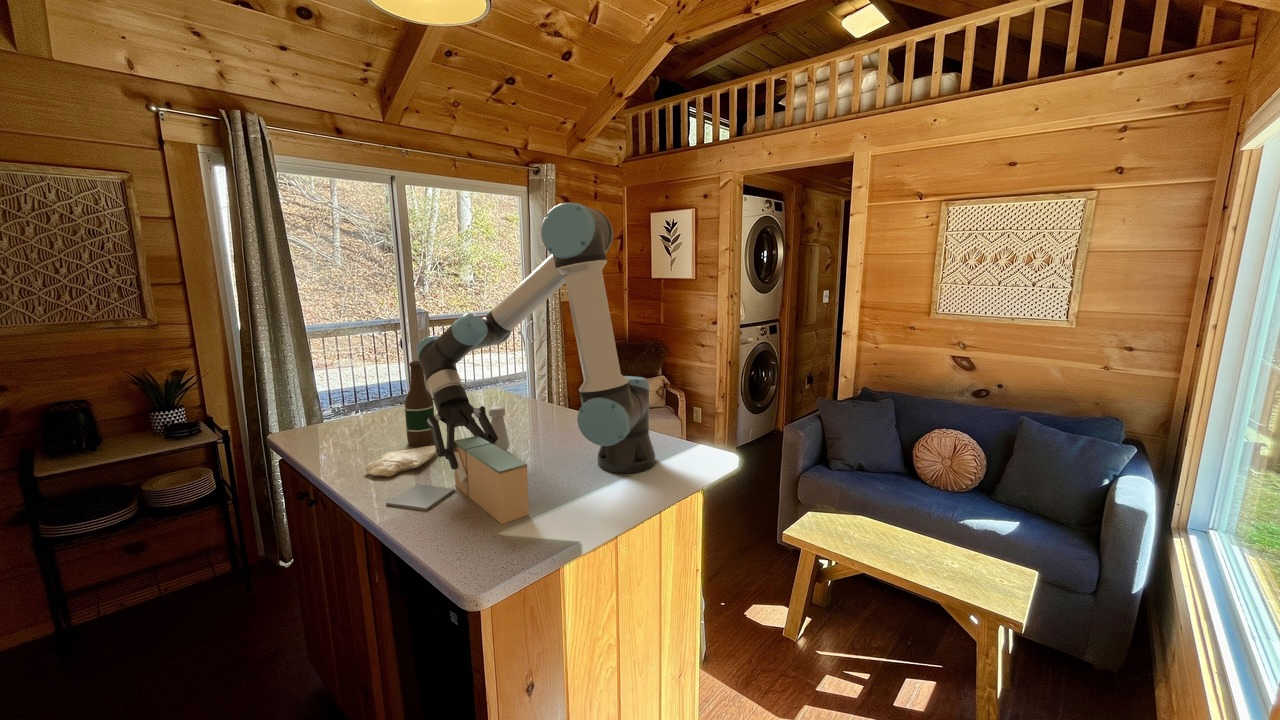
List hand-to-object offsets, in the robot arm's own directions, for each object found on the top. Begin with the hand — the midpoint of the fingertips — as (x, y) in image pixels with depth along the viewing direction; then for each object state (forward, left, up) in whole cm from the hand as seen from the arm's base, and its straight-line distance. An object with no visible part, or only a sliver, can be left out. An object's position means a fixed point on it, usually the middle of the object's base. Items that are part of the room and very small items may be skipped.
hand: (479, 475), depth 115 cm
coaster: (+11, +6, -4) cm, 13 cm away
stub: (+3, -2, -4) cm, 5 cm away
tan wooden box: (-7, +5, -4) cm, 10 cm away
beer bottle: (+35, -26, -4) cm, 44 cm away
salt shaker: (+9, -24, -4) cm, 26 cm away
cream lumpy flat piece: (+27, -10, -5) cm, 30 cm away
